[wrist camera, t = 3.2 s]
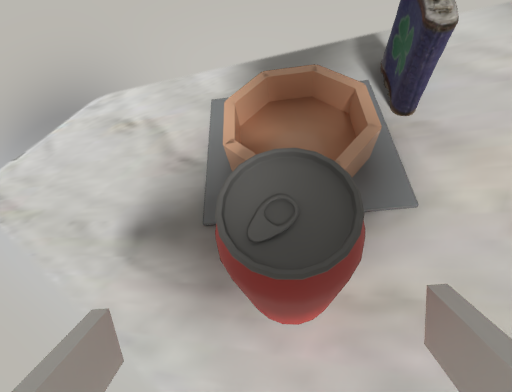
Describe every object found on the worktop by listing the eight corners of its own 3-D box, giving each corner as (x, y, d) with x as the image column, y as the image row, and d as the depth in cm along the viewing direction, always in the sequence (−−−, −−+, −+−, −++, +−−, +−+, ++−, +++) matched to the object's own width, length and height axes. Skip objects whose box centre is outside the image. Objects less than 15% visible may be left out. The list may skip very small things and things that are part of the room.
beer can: (229, 277, 21) (168, 206, 10) (287, 222, 22) (284, 114, 12) (291, 348, 18) (291, 345, 8) (352, 278, 20) (419, 199, 9)
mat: (367, 83, 30) (368, 79, 30) (416, 207, 22) (418, 204, 21) (212, 102, 31) (211, 99, 31) (204, 225, 23) (202, 223, 23)
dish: (348, 91, 29) (355, 58, 26) (381, 192, 22) (396, 165, 19) (232, 105, 30) (225, 76, 27) (231, 205, 23) (221, 182, 20)
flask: (377, 62, 32) (413, -56, 22) (403, 60, 31) (451, -60, 22) (390, 117, 27) (442, -2, 18) (421, 116, 27) (490, -6, 17)
